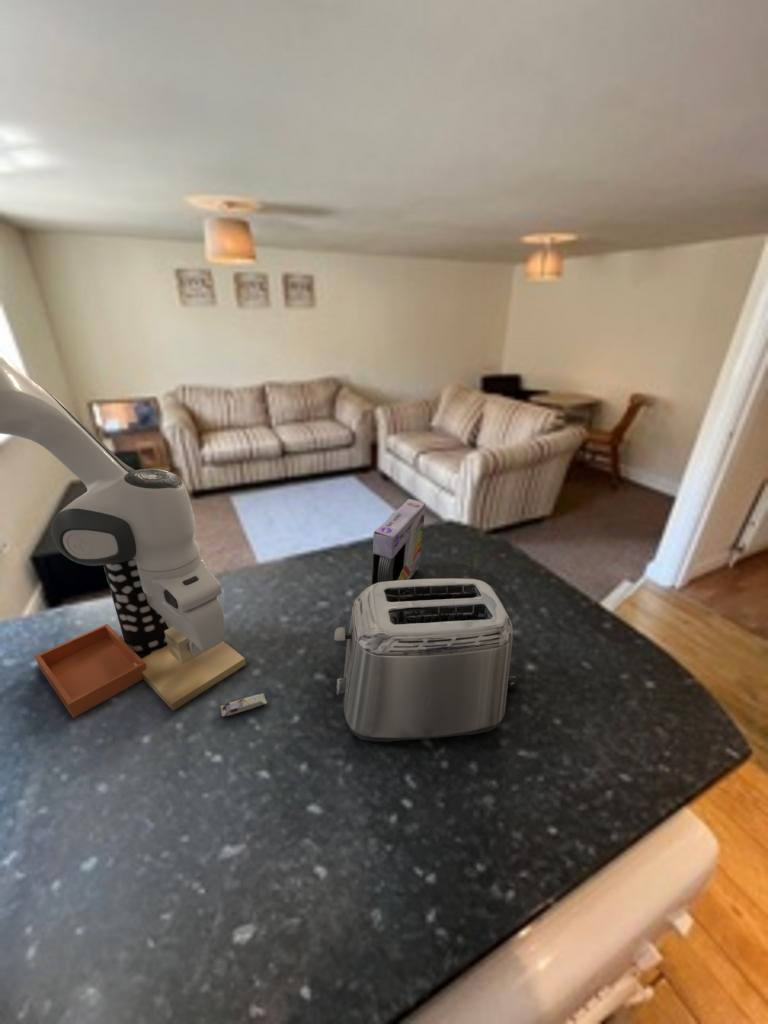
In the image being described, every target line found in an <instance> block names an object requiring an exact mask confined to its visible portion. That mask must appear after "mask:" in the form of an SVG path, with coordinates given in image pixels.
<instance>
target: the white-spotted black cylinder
mask: <svg viewBox="0 0 768 1024" xmlns="http://www.w3.org/2000/svg"><path fill="white" fill-rule="evenodd" d="M102 566H103V568H104V573H105V576H106V580H107V583H108V584H107V585H108V587H109V591H110V593H111V598H112V601H113V606H114V609H115V614H116V615H117V620H118V624H119V628H120V631H121V635H122V639H123V640H124V641H125V643H126V644H127V645H128V646H129V647H130V648H131V649H132V650H133V651H134V652H135V653H136V654H137V655H138V656H139V657H140V656H141V657H143V656H144V657H146V656H148V655H150V654H152V653H154V652H156V651H157V650H159V649H161V648H163V647H165V646H167V641H166V636H165V632H164V631H165V630H167V629H169V628H168V626H167V624H166V622H165V620H164V619H163V617H162V616H161V615H160V614H159V613H157V612H156V611H155V610H154V609H153V608H152V607H151V606H149V604H148V602H147V598H146V594H145V593H144V591H143V589H142V585H141V581H140V577H139V573H138V569H137V564H136V561H135V560H134V559H130V560H128V561H124V562H120V563H114V564H107V565H102Z"/></svg>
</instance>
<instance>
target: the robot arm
mask: <svg viewBox="0 0 768 1024" xmlns="http://www.w3.org/2000/svg"><path fill="white" fill-rule="evenodd" d="M0 435H9V436H14V437H20V438H24V439H26V440H29V441H32V442H34V443H36V444H38V445H39V446H41V447H43V448H44V449H45V450H46V451H48V452H49V453H50V454H51V455H52V456H54V457H55V458H56V459H57V460H58V462H60V463H61V464H62V465H63V466H64V467H66V468H67V469H68V470H69V471H70V472H71V473H72V474H73V475H75V477H76V478H78V479H79V481H81V482H82V483H83V484H84V485H85V488H86V492H84V493H82V495H80V496H78V497H76V498H75V499H74V500H72V501H71V502H70V503H69V504H67V505H66V506H65V507H63V509H61V510H60V511H59V512H58V513H57V514H56V515H55V516H54V518H53V519H52V520H51V524H50V534H51V538H52V541H53V543H54V545H55V546H56V549H57V550H58V551H59V552H60V553H61V554H62V555H63V556H64V557H66V559H69V560H70V561H72V562H74V563H76V564H79V565H82V566H91V567H98V566H103V565H107V564H114V563H120V562H124V561H128V560H130V559H134V560H135V561H136V564H137V569H138V573H139V577H140V581H141V585H142V589H143V591H144V593H145V594H146V598H147V602H148V604H149V606H151V607H152V608H153V609H154V610H155V611H156V612H157V613H159V614H160V615H161V616H162V617H163V619H164V620H165V622H166V624H167V626H168V628H171V627H173V626H174V627H175V628H176V629H177V630H178V631H179V632H181V633H182V634H183V635H184V636H185V637H186V638H187V639H189V640H190V642H189V643H187V647H188V651H190V652H191V654H193V655H196V654H197V653H199V652H201V651H203V652H205V651H208V650H209V649H211V648H213V647H215V646H216V645H218V644H220V643H221V642H222V641H224V640H225V638H226V625H225V617H224V610H223V606H222V603H221V600H220V599H219V597H218V596H220V595H221V594H222V586H221V583H220V582H219V580H218V579H217V578H216V577H215V576H214V575H213V573H212V572H211V571H210V569H209V568H208V567H207V564H206V563H205V561H204V559H203V558H202V553H201V549H200V546H199V543H198V542H197V540H196V529H197V526H196V519H195V514H194V509H193V505H192V502H191V498H190V494H189V492H188V489H187V487H186V485H185V483H184V481H183V480H182V479H181V478H180V477H179V476H178V475H176V474H175V473H173V472H171V471H168V470H165V469H159V468H143V469H136V470H135V469H134V468H132V467H131V466H130V465H128V464H126V463H125V462H123V460H121V459H120V458H119V457H118V456H116V455H115V453H114V452H112V450H111V449H110V448H108V446H106V444H105V443H103V442H102V440H100V439H99V438H98V437H97V436H96V435H95V433H93V431H91V429H89V427H87V425H85V424H84V423H83V422H82V420H80V419H79V418H78V417H77V416H76V415H75V414H74V413H73V411H71V410H70V409H69V408H68V407H66V405H65V404H64V403H62V402H61V401H60V400H59V399H58V398H56V397H55V396H54V395H53V394H51V393H50V392H48V391H47V390H46V389H44V388H42V387H41V386H40V385H39V384H37V383H36V382H34V381H33V380H32V379H31V378H30V377H29V376H27V375H26V374H25V373H24V372H23V370H21V369H20V368H19V367H18V366H17V365H15V363H13V362H12V361H11V360H10V358H9V357H7V355H6V354H5V353H4V352H2V350H1V349H0Z"/></svg>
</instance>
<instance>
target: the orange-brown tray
mask: <svg viewBox="0 0 768 1024" xmlns="http://www.w3.org/2000/svg"><path fill="white" fill-rule="evenodd" d="M34 657H35V660H36V662H37V665H38V669H39V670H40V671H41V673H42V674H43V676H44V677H45V679H46V680H47V681H48V683H49V684H50V686H51V687H52V689H53V690H54V692H55V693H56V695H57V696H58V698H59V700H60V701H61V702H62V704H63V705H64V707H65V708H66V710H67V711H68V713H69V714H70V716H71V717H72V718H73V719H74V718H76V717H78V716H80V715H81V714H83V713H85V712H86V711H89V710H90V709H92V708H95V707H96V706H98V705H99V704H101V703H103V702H105V701H107V700H109V699H110V698H112V697H114V696H116V695H117V694H119V693H121V692H122V691H124V690H126V689H128V688H129V687H132V686H134V685H135V684H137V683H139V682H140V681H143V680H144V679H143V676H142V672H143V671H145V670H146V669H147V667H146V663H145V662H144V661H143V660H142V658H141V657H140V656H138V655H137V654H136V653H135V652H134V651H133V650H132V649H131V648H130V647H129V646H128V645H127V644H126V643H125V641H124V638H123V637H121V636H120V635H119V634H118V633H117V632H116V631H115V630H114V629H113V627H111V626H110V624H108V623H106V624H104V625H101V626H99V627H96V628H94V629H92V630H89V631H87V632H86V633H83V634H81V635H79V636H76V637H74V638H72V639H70V640H67V641H65V642H63V643H61V644H59V645H57V646H54V647H52V648H50V649H47V650H45V651H43V652H41V653H38V654H37V655H35V656H34ZM133 663H136V664H137V665H136V666H135V667H134V664H133Z"/></svg>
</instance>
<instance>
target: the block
mask: <svg viewBox="0 0 768 1024" xmlns="http://www.w3.org/2000/svg"><path fill="white" fill-rule="evenodd" d="M164 632H165V636H166V641H167V645H168V650H169V652H170V653H171V654H172V655H173V656H174V657H175V658H176V659H177V660H178V661H179V662H180V663H181V664H182V665H183V664H185V663H187V662H188V661H190V660H192V659H194V658H195V657H197V656H199V655H201V654H202V653H204V652H203V651H201V652H199V653H197V654H196V655H193V654H191V652H190V651H188V647H187V643H189V642H190V640H189V639H187V638H186V637H185V636H184V635H183V634H182V633H181V632H179V631H178V630H177V629H176V628H175V627H174V626H173V627H171V628H169V629H167V630H165V631H164ZM205 652H206V651H205Z"/></svg>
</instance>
